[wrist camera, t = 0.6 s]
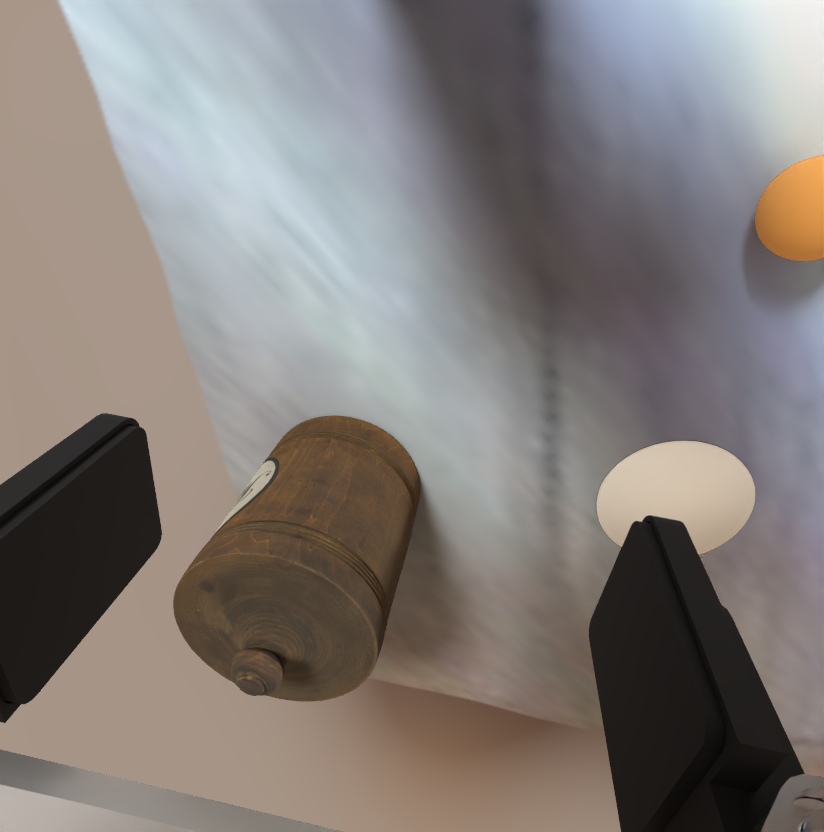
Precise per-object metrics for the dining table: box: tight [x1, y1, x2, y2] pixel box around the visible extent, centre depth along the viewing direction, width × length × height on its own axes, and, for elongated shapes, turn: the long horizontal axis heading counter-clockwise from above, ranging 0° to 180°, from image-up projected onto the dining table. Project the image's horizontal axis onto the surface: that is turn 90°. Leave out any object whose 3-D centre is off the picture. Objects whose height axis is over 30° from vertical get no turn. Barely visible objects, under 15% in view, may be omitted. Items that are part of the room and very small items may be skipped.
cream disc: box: [596, 441, 755, 555], centre depth 47 cm, size 13×13×1 cm
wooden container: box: [173, 416, 420, 701], centre depth 42 cm, size 15×15×22 cm
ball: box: [755, 156, 824, 261], centre depth 32 cm, size 6×6×6 cm
